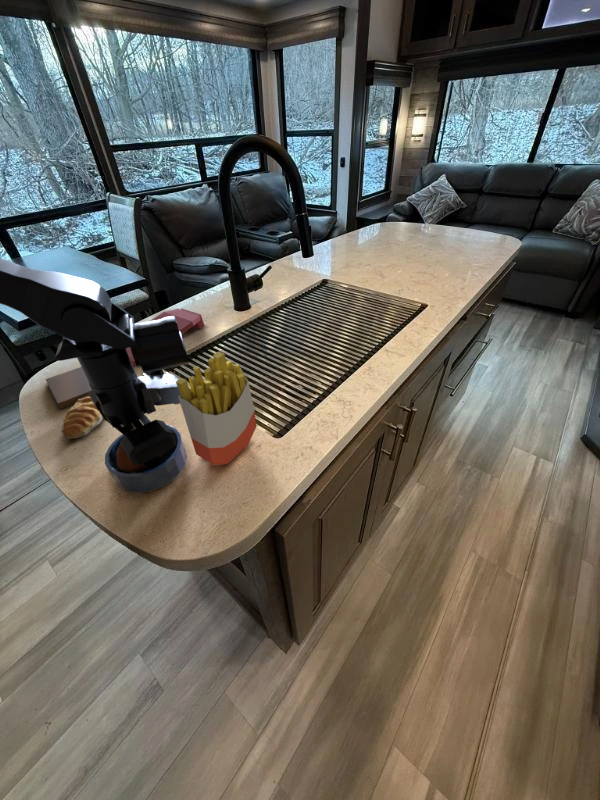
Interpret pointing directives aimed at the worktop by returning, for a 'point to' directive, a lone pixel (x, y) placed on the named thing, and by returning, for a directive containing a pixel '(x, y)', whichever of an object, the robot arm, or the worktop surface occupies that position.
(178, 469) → the bowl
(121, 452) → the potato
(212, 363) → the french fries container
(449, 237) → the worktop surface
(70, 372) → the flat rectangular box
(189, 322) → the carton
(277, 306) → the worktop surface
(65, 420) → the pastry
